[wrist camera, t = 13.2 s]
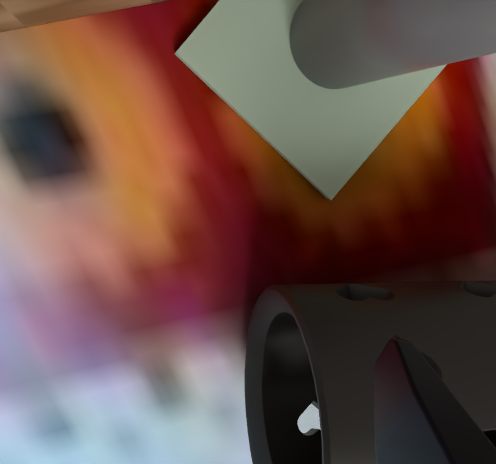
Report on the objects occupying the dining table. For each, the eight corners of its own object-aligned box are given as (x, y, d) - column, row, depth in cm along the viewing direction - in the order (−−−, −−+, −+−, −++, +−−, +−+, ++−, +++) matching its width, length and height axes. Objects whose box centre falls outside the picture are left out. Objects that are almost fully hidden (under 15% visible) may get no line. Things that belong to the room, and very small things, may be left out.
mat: (326, 198, 21) (331, 200, 20) (174, 54, 18) (175, 52, 17) (454, 48, 20) (462, 46, 20) (322, -123, 18) (328, -130, 17)
